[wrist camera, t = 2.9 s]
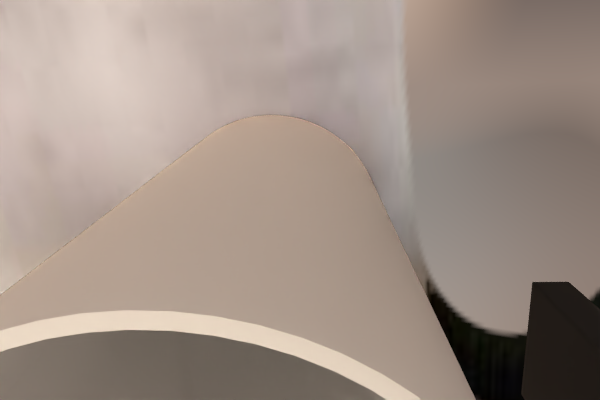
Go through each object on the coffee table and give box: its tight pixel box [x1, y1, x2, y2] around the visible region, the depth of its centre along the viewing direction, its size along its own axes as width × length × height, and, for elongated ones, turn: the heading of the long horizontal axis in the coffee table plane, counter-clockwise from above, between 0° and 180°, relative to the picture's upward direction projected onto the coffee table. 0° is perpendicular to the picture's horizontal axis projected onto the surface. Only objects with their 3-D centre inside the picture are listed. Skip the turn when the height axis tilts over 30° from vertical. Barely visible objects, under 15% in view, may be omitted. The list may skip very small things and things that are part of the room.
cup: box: [0, 115, 476, 400], centre depth 14 cm, size 8×8×16 cm
